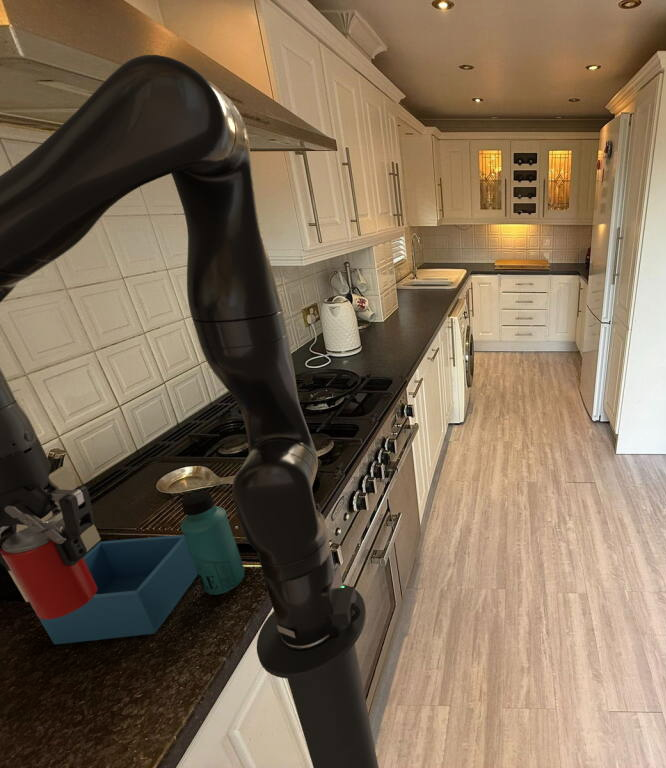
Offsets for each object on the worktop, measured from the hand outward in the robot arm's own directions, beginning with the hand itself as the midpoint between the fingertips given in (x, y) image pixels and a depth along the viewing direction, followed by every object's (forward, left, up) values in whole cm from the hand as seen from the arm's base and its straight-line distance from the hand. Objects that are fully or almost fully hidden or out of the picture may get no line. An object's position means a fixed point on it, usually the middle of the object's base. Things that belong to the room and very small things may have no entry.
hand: (48, 562), depth 51 cm
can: (0, 0, -7) cm, 7 cm away
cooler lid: (+12, -13, -5) cm, 18 cm away
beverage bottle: (-9, -15, -22) cm, 28 cm away
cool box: (+5, -13, -22) cm, 25 cm away
